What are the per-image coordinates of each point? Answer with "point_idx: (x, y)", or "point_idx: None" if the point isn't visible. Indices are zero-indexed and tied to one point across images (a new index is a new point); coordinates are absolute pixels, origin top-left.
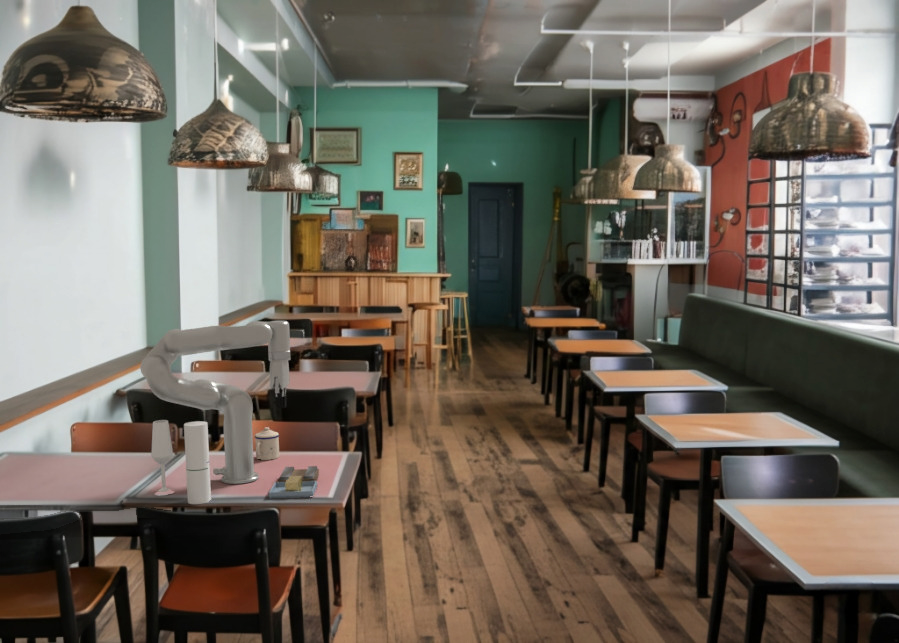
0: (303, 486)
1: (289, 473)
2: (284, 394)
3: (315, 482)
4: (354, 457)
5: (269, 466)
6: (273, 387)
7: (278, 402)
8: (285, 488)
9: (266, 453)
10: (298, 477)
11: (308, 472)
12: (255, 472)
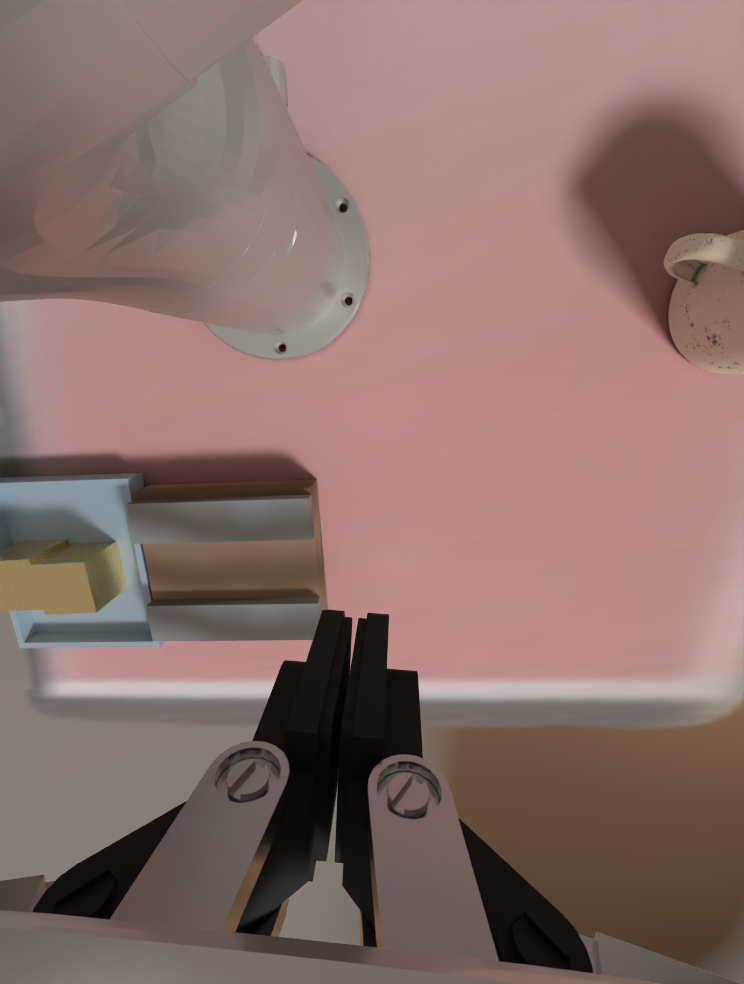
0: (141, 589)
1: (189, 538)
2: (360, 902)
3: (134, 643)
4: (625, 727)
5: (524, 361)
6: (260, 941)
7: (274, 697)
8: (108, 523)
9: (689, 310)
10: (67, 602)
11: (210, 617)
12: (338, 329)
